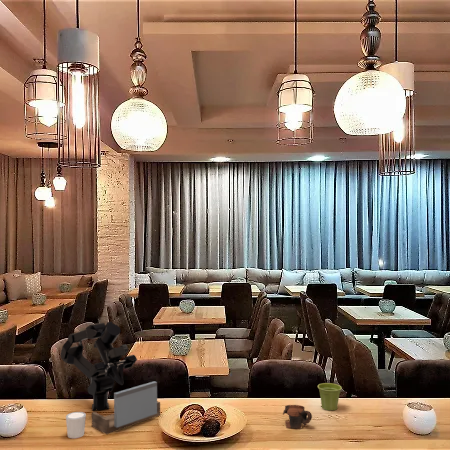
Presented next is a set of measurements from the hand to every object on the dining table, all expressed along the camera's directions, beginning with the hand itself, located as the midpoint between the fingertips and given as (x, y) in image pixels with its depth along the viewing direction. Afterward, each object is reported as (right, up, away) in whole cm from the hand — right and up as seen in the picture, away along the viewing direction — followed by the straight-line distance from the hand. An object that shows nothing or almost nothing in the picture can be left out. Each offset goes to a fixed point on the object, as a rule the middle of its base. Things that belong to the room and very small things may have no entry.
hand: (122, 384), depth 189 cm
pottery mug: (+66, -13, -6) cm, 68 cm away
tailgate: (+6, -11, -6) cm, 14 cm away
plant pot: (+81, -13, +10) cm, 83 cm away
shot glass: (-14, -13, -14) cm, 24 cm away
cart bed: (+2, -13, -2) cm, 13 cm away
